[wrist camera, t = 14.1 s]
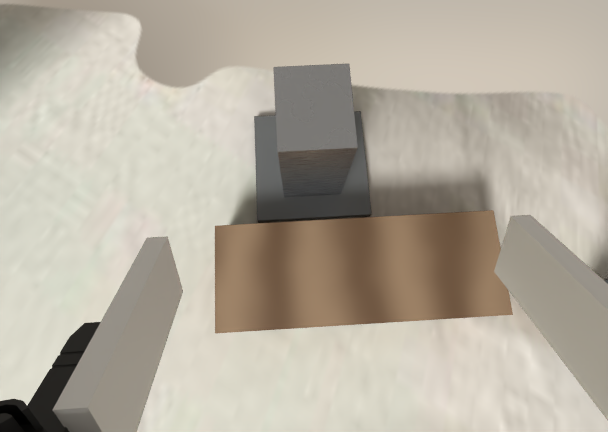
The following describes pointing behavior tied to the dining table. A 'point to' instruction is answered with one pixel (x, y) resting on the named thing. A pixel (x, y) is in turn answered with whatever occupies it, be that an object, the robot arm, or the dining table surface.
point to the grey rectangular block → (314, 128)
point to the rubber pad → (306, 207)
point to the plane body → (357, 271)
